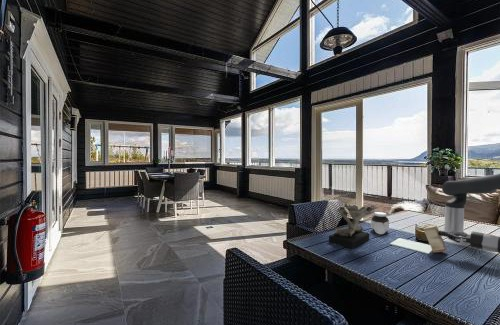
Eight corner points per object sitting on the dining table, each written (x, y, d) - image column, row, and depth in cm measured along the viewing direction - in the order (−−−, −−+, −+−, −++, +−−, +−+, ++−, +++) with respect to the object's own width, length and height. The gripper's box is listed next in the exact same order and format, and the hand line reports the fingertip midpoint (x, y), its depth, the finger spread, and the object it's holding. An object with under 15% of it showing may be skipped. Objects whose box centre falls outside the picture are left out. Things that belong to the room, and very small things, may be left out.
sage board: (398, 238, 152) (399, 237, 152) (435, 247, 139) (435, 246, 139) (389, 244, 143) (389, 243, 143) (428, 254, 130) (428, 253, 130)
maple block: (435, 250, 135) (426, 227, 138) (447, 248, 132) (436, 225, 135) (433, 252, 132) (423, 228, 135) (444, 251, 128) (434, 227, 131)
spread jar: (382, 229, 172) (383, 211, 171) (395, 234, 160) (395, 215, 160) (366, 229, 169) (366, 212, 169) (377, 235, 158) (378, 216, 158)
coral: (349, 232, 163) (350, 198, 162) (383, 241, 148) (384, 204, 147) (327, 241, 146) (328, 204, 145) (363, 252, 131) (364, 210, 130)
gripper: (486, 230, 124) (442, 223, 136) (483, 236, 115) (435, 227, 127) (486, 246, 124) (441, 237, 137) (482, 253, 115) (435, 243, 128)
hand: (438, 232), depth 132 cm, fingers closed
